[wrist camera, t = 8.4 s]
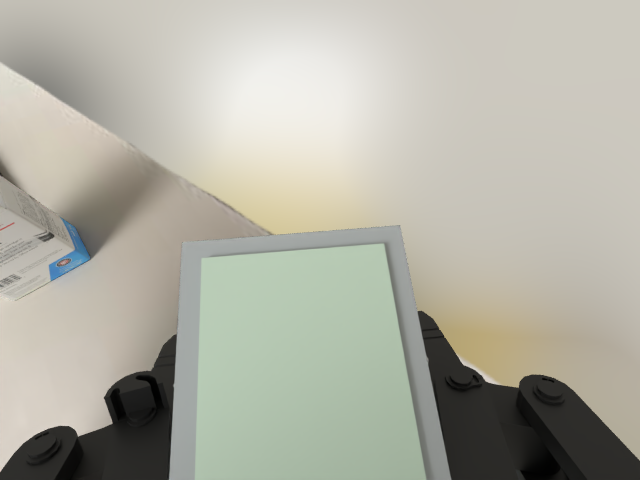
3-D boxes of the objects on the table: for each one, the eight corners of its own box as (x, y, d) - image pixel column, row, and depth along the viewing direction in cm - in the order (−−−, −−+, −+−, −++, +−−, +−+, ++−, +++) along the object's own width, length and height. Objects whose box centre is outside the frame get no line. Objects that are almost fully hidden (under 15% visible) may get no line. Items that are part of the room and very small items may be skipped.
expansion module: (255, 465, 16) (158, 589, 6) (251, 327, 18) (179, 238, 8) (368, 452, 16) (468, 547, 6) (350, 318, 19) (401, 221, 8)
